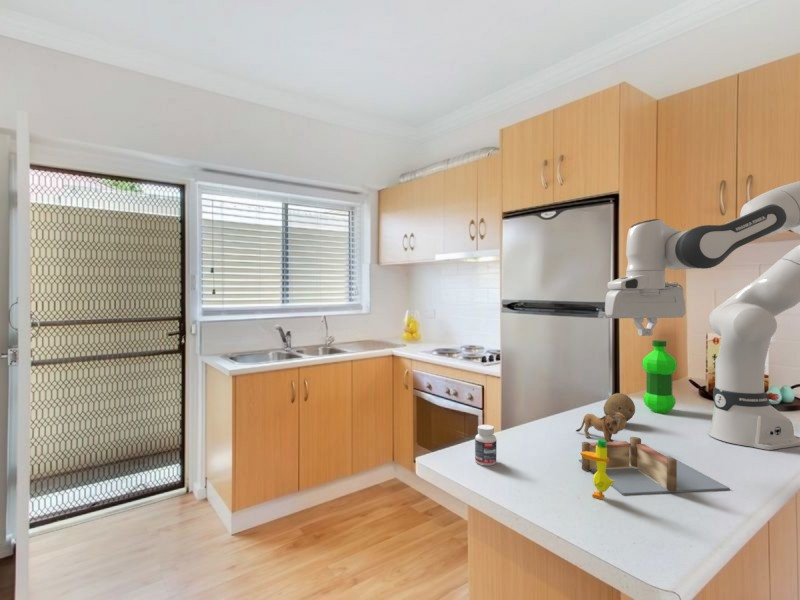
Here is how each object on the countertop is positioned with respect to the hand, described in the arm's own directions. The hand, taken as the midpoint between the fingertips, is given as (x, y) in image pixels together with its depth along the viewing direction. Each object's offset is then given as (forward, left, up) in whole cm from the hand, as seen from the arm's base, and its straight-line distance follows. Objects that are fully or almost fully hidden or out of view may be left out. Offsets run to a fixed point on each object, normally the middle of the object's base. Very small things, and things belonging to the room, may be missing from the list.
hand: (645, 335), depth 111 cm
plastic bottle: (-31, -37, -31) cm, 58 cm away
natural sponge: (-8, -24, -31) cm, 40 cm away
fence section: (+14, +8, -31) cm, 35 cm away
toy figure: (+25, +21, -31) cm, 45 cm away
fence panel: (+8, +16, -30) cm, 35 cm away
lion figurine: (+5, -11, -31) cm, 34 cm away
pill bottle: (+43, +1, -31) cm, 53 cm away
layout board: (+7, +12, -31) cm, 34 cm away
